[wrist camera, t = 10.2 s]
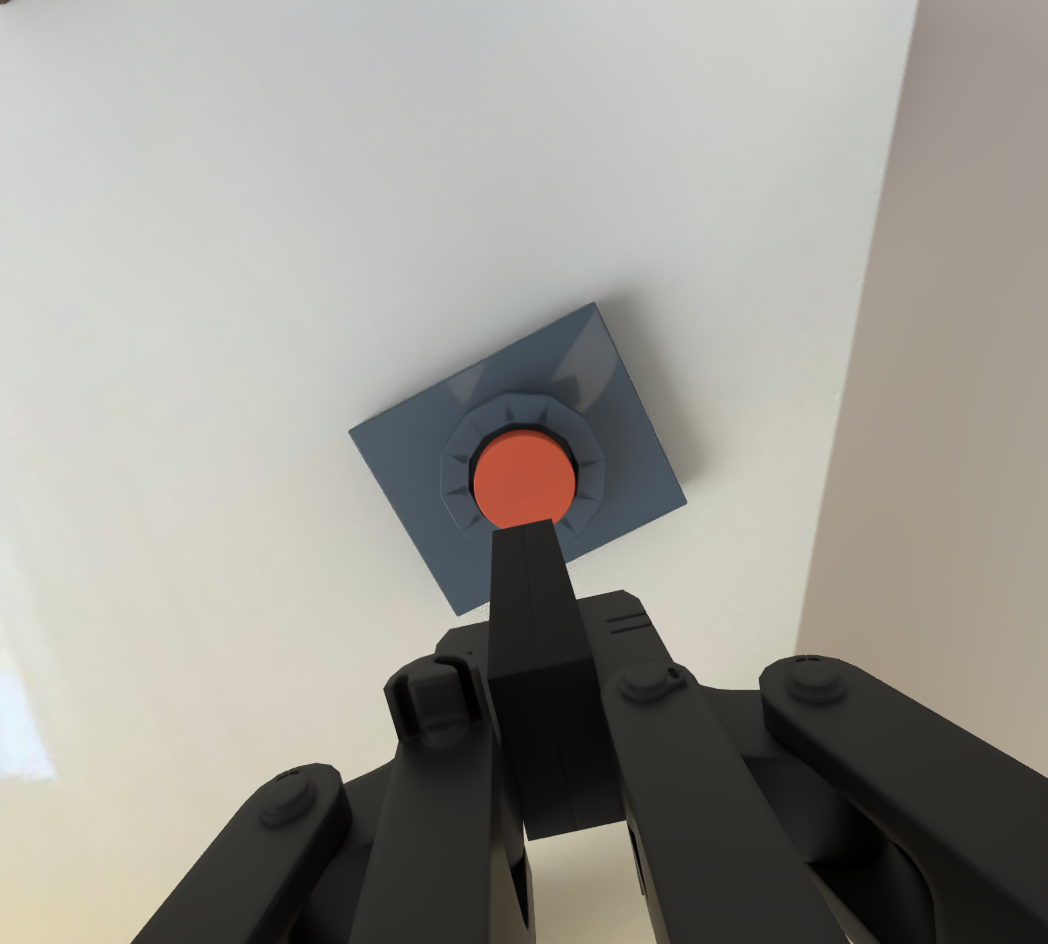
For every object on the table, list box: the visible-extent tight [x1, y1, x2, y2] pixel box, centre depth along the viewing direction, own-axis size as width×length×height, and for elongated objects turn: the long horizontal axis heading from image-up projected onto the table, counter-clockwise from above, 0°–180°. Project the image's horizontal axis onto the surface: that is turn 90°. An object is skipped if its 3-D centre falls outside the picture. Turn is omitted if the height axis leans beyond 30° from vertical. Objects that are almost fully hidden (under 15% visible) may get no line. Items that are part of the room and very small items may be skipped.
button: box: [474, 429, 575, 529], centre depth 24 cm, size 4×4×2 cm
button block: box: [348, 302, 687, 616], centre depth 26 cm, size 12×10×4 cm
